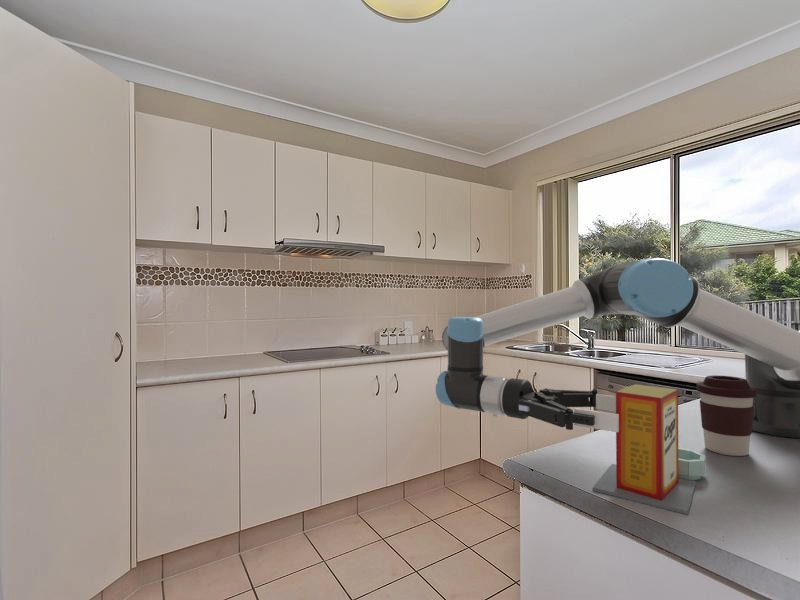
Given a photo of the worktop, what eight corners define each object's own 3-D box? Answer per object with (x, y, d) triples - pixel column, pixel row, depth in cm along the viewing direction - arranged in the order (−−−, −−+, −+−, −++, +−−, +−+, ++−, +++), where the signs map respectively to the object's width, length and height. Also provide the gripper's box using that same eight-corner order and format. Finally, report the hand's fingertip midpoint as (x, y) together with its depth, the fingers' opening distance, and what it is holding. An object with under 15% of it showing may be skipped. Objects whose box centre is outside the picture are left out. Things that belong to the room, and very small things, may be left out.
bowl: (706, 472, 78) (706, 452, 78) (703, 485, 72) (703, 464, 72) (661, 463, 82) (660, 444, 82) (654, 474, 77) (654, 455, 77)
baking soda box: (636, 471, 77) (635, 382, 77) (678, 482, 72) (677, 387, 72) (616, 487, 71) (615, 389, 71) (661, 500, 66) (660, 395, 66)
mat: (695, 484, 73) (695, 481, 73) (688, 514, 63) (687, 511, 63) (611, 466, 81) (611, 463, 81) (592, 490, 71) (592, 487, 71)
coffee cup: (699, 439, 96) (699, 372, 96) (757, 449, 90) (756, 377, 90) (694, 452, 88) (694, 378, 88) (757, 463, 82) (757, 384, 82)
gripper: (532, 404, 95) (640, 420, 82) (478, 430, 76) (609, 457, 63) (532, 370, 95) (640, 380, 82) (478, 388, 76) (609, 406, 63)
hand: (627, 414), depth 72 cm, fingers open, 13 cm apart
